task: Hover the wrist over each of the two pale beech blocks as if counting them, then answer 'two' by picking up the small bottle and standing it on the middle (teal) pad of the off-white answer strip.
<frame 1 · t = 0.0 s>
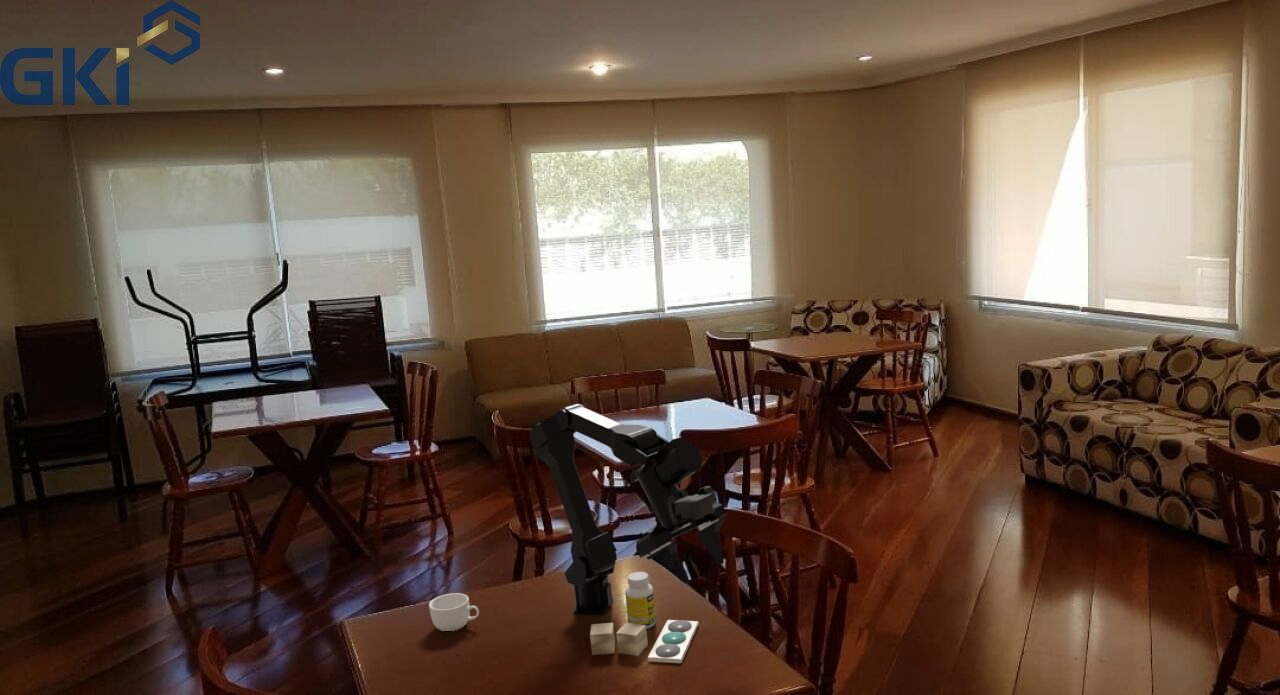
hand: (704, 573, 158), 15 cm above the table, tool tilted 35°, fingers open, 9 cm apart
answer strip: (674, 642, 165), on the table
beech block a: (603, 648, 166), on the table
supplement bottle: (642, 624, 174), on the table
beech block b: (633, 649, 165), on the table
teacup: (457, 627, 180), on the table
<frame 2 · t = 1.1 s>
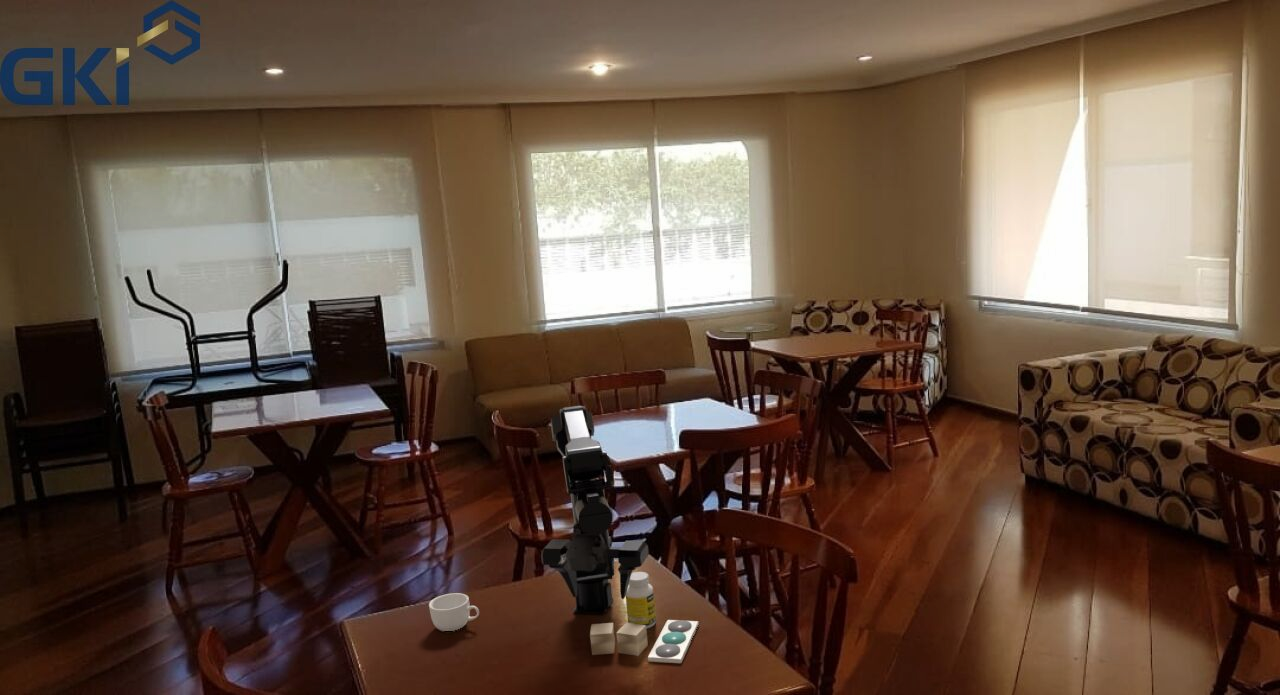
hand: (599, 597, 164), 10 cm above the table, tool pointing down, fingers open, 9 cm apart
nothing on the table moved.
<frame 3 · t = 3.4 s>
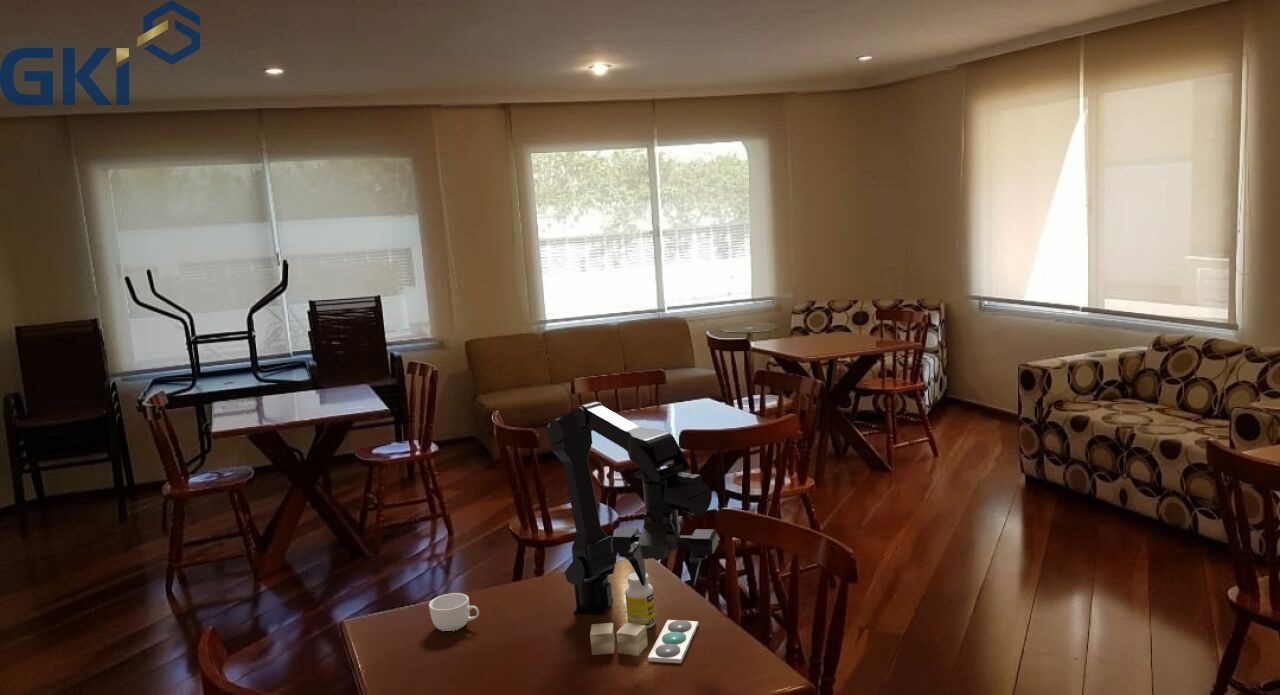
hand: (668, 585, 164), 11 cm above the table, tool pointing down, fingers open, 9 cm apart
nothing on the table moved.
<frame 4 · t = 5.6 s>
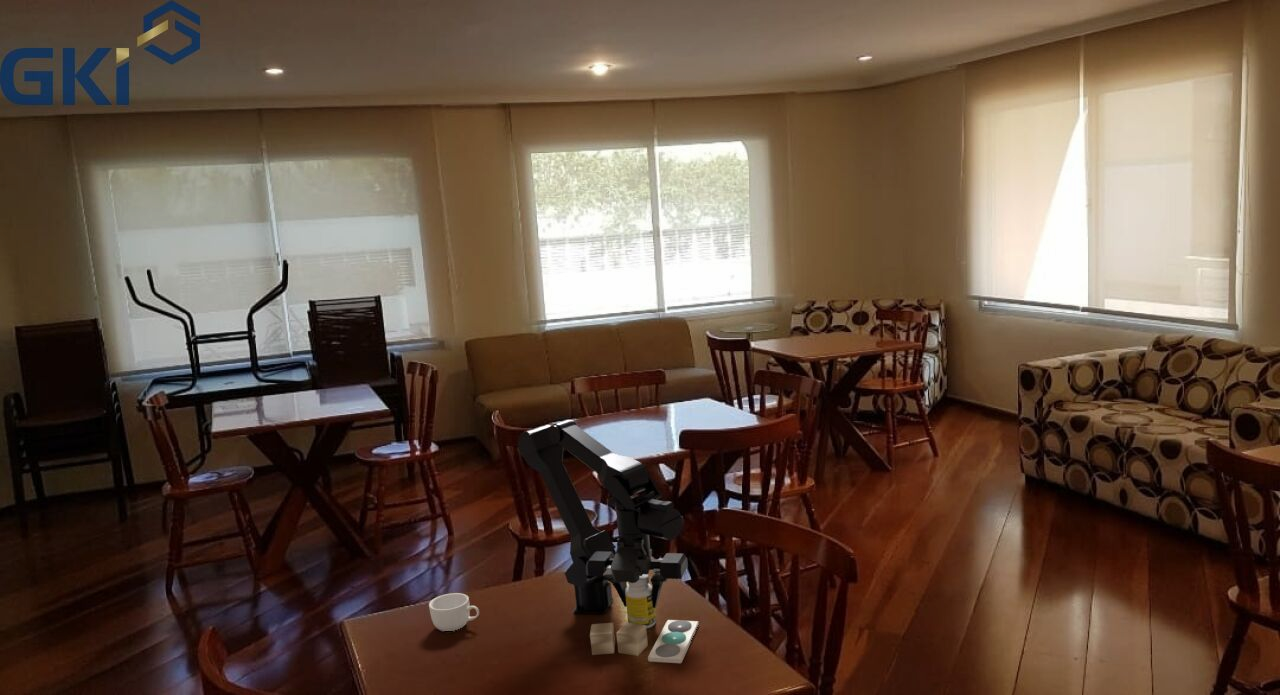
hand: (640, 606, 173), 4 cm above the table, tool pointing down, fingers closed on supplement bottle, 5 cm apart
supplement bottle: (642, 624, 174), on the table, touching gripper
everything else where it was.
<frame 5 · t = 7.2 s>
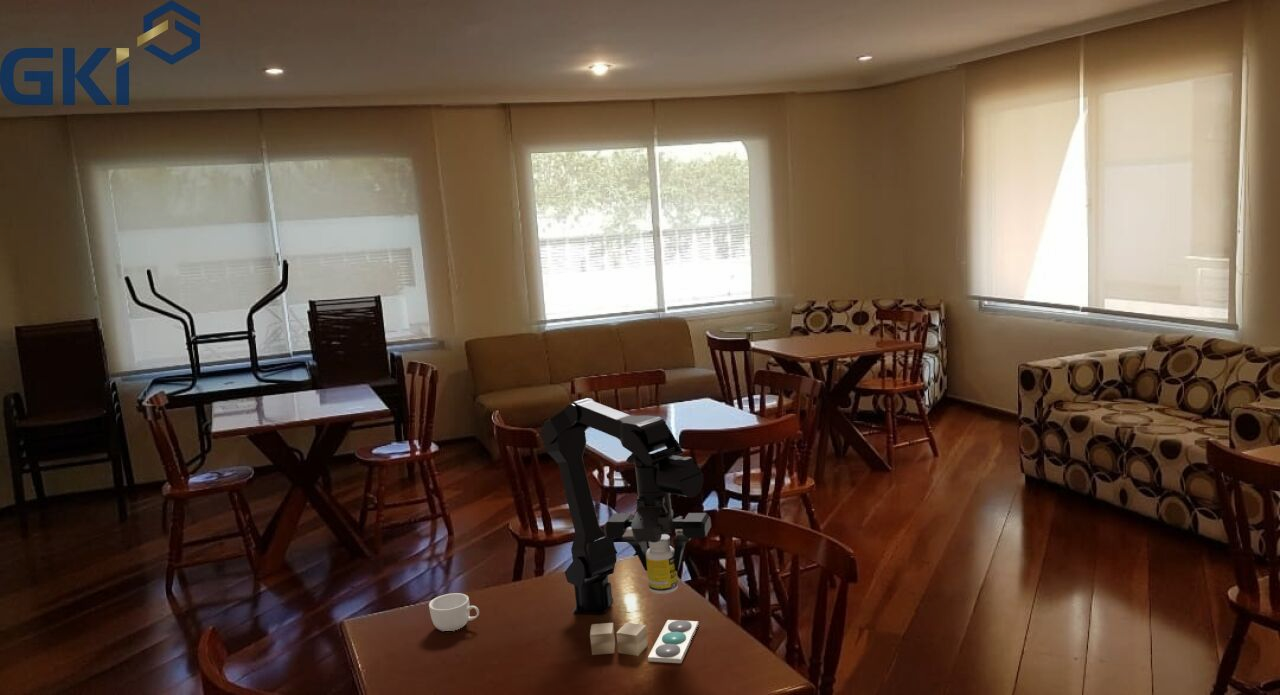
hand: (662, 570, 165), 13 cm above the table, tool pointing down, fingers closed on supplement bottle, 5 cm apart
supplement bottle: (664, 589, 165), point 10 cm above the table, touching gripper
everything else where it was.
when the fingers open (5 cm above the table, at t = 9.2 s): supplement bottle stays where it is, resting on answer strip.
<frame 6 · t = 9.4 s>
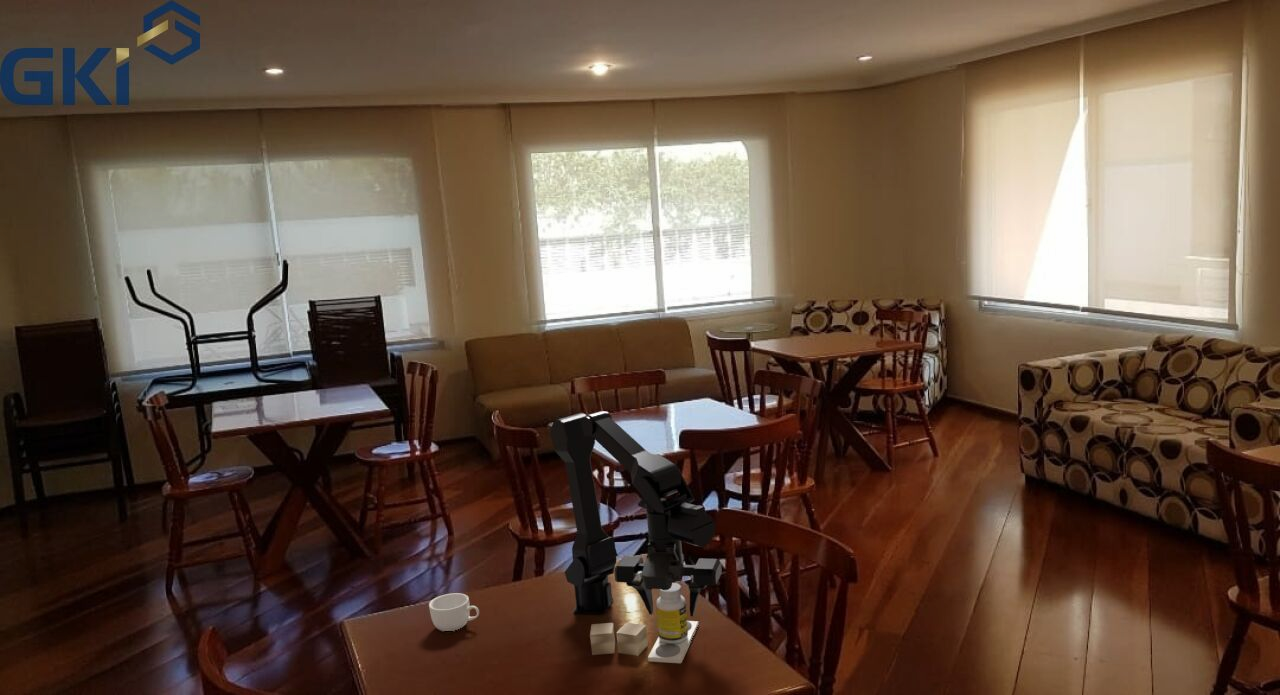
hand: (671, 614, 164), 5 cm above the table, tool pointing down, fingers open, 7 cm apart
supplement bottle: (673, 638, 165), point 1 cm above the table, touching answer strip
everything else where it was.
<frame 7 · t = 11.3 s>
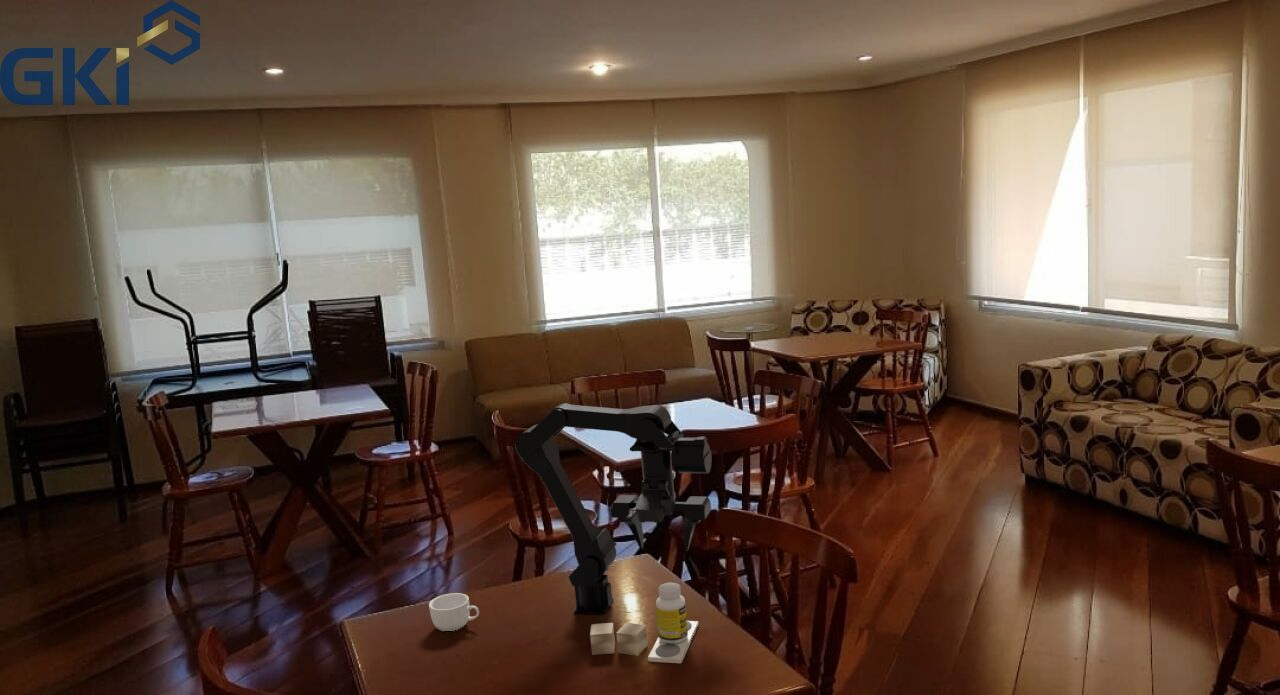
hand: (664, 549, 176), 13 cm above the table, tool pointing down, fingers open, 9 cm apart
nothing on the table moved.
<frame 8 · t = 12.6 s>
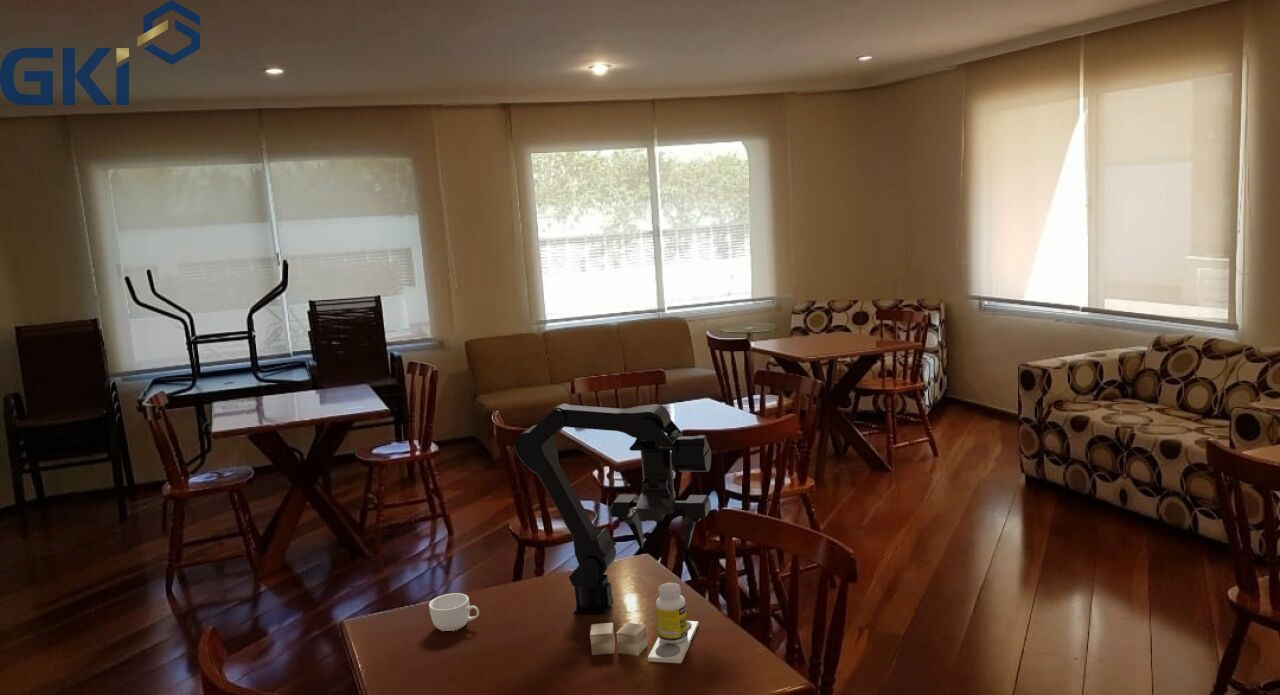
hand: (664, 548, 176), 13 cm above the table, tool pointing down, fingers open, 9 cm apart
nothing on the table moved.
at the end: supplement bottle 0.1 cm from the target spot, point 0.8 cm above the table; supplement bottle tilted 0°; the gripper is holding nothing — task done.
